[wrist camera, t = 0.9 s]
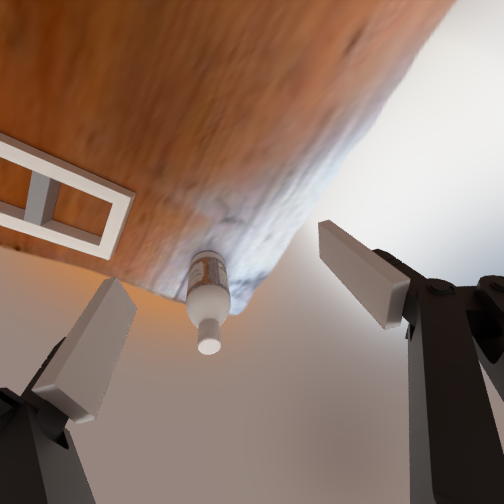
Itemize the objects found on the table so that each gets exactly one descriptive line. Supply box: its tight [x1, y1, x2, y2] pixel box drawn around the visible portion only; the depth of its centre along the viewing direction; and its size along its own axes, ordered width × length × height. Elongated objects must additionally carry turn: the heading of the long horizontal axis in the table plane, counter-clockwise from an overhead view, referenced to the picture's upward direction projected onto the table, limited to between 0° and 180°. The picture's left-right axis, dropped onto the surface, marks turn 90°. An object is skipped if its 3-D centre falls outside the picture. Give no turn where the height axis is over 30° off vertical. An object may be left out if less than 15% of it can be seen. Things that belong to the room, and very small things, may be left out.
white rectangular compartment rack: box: [0, 133, 136, 260], centre depth 31 cm, size 32×12×3 cm, turn 60°
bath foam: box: [186, 251, 230, 354], centre depth 36 cm, size 7×7×20 cm
